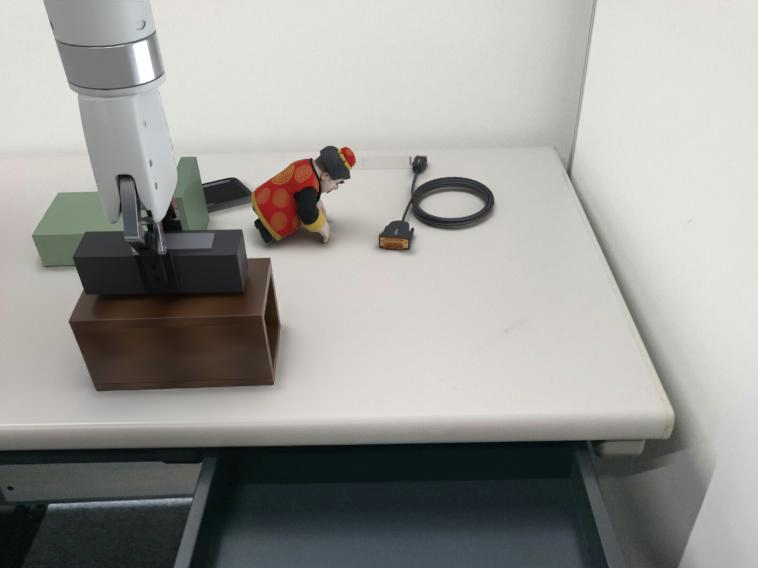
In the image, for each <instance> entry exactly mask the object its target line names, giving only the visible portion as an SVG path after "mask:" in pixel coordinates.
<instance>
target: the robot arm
mask: <svg viewBox="0 0 758 568" xmlns="http://www.w3.org/2000/svg"><path fill="white" fill-rule="evenodd" d="M42 1H43V5H44V8H45V11H46V14H47V18H48V21H49V25H50V28H51V31H52V35H53V37H54V42H55V45H56V48H57V51H58V55H59V57H60V61H61V65H62V68H63V71H64V74H65V78H66V80H67V84H68V87H69V89H70V90H71V91H73V92H75V93H76V94H77V103H78V109H79V116H80V121H81V122H80V123H81V126H82V132H83V137H84V141H85V144H86V145H85V146H86V149H87V154H88V156H89V157H88V158H89V162H90V165H91V169H92V173H93V177H94V181H95V185H96V189H97V192H98V193H99V197H100V201H101V204H102V208H103V212H104V215H105V218H106V219H107V220H108V221H109V222H110V223H111V224H115V223H116V222H118V221H119V219H120V217H121V214H122V216H123V228H124V237H125V240H126V242H127V243H129V244H130V245H131V247H132V252H133V255H134V256H135V259H136V263H137V266H138V269H139V273H140V276H141V280H142V283H143V287H144V290H145V292H147V293H177V292H178V291H179V282H178V278H177V274H176V270H175V266H174V262H173V258H172V254H171V250H166V245H165V239H164V233H163V230H183V229H182V225H181V220H174V219H178V218H179V212H178V207H177V204H176V201H175V198H174V195H173V194H174V191H175V188H176V184H177V161H176V157H175V150H174V146H173V142H172V137H171V133H170V128H169V125H168V119H167V116H166V111H165V109H164V105H163V102H162V97H161V92H160V91H159V87H160V86H162V85H163V84H165V81H166V80H167V76H166V71H165V66H164V61H163V57H162V52H161V47H160V43H159V38H158V33H157V30H156V29H157V28H156V24H155V20H154V14H153V9H152V5H151V0H42ZM141 210H146V213H147V216H141ZM142 225H147V229H148V231H154V235H155V238H154V237H153V236H152V234H151V233H145V230H144V229H143V227H142Z"/></svg>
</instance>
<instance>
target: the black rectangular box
mask: <svg viewBox="0 0 758 568" xmlns="http://www.w3.org/2000/svg"><path fill="white" fill-rule="evenodd" d="M145 233H151V234H152V236H153V237H154V238H155V235H154V231H145ZM163 233H164V239H165V245H166V250H171V254H172V258H173V262H174V266H175V270H176V274H177V278H178V282H179V291H178V292H177V293H209V292H244V286H245V281H246V276H247V270H248V260H247V258H248V255H247V247H246V243H245V237H244V232H243V229H241V228H238V229H237V228H235V229H233V228H232V229H231V228H230V229H228V228H227V229H206V230H163ZM72 258H73V261H74V264H75V265H74V267H75V269H76V272H77V274H78V277H79V280H80V283H81V286H82V288H83V289H84V292H85V294H86V295H96V294H152V293H147V292H145V290H144V287H143V283H142V280H141V276H140V273H139V269H138V266H137V263H136V259H135V256H134V255H133V252H132V247H131V245H130V244H129V243H127V242H126V240H125V237H124V231H89V232H85V233H84V235H83V237H82V239H81V241H80V243H79V245H78V247H77V249H76V251H75V253H74V255H73V257H72ZM83 289H82V290H83Z"/></svg>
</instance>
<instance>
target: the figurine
mask: <svg viewBox="0 0 758 568" xmlns="http://www.w3.org/2000/svg"><path fill="white" fill-rule="evenodd" d="M356 163H357V159H356V156H355V152H354V151H353V150H352V149H351V148H350V147H348V146H343V147H341V148H338V147H337V146H334V145H326V146H324V148H322V149H320V150H319V156H318V157H317V158H315V159H313V157H310V158H302V159H297V160H295V161H293V162H291V163H290V164H289V165H287V166H286V167H285V168H284V169H282V171H280V172H278V173H277V174H275V175H274V176H272V177H270V178H269V179H267V180H266V181H265V182H263V183H262V184H260V185H259V186H257V187H256V188H255V189H254V190H253V191H251V192H252V193H251V209H252V211H253V212H254V213H255V214H256V216H257V217H258V218H256V219H255V220H254V221H253V224H254V227H255V229H256V230H258V233H259V235H260V238H261V239H262V240H263V242H264V243H265V244H267V245H269V244H270V243H271V242H273V241H274V240H275V241H282V239H285V238H286V237H288V236H290V235H292V234H294V233H295V232H296V231H297V230H298V229H299V228H301V226H303V227H304V228H306V229H307V230H309V231H310V232H318V233H319V234H320V235H321V236H322V238H323V239H322V242H323V243H325V244H326V243H327V242H328V241H329V240H330V239H329V238H330V234H331V233H330V231H331V229H330V228H331V227H330V224H329V222H328V220H327V219H326V217H327V210H326V208H325V205H324V203H323V200H322V199H321V197H322V194H324V193H325V195H326V194H329V193H330V192H332V191H336V190H337V191H338V190H339V185H343V184H345V183H346V182H345V181H347V180H351V169H353V167H355V166H356Z"/></svg>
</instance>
